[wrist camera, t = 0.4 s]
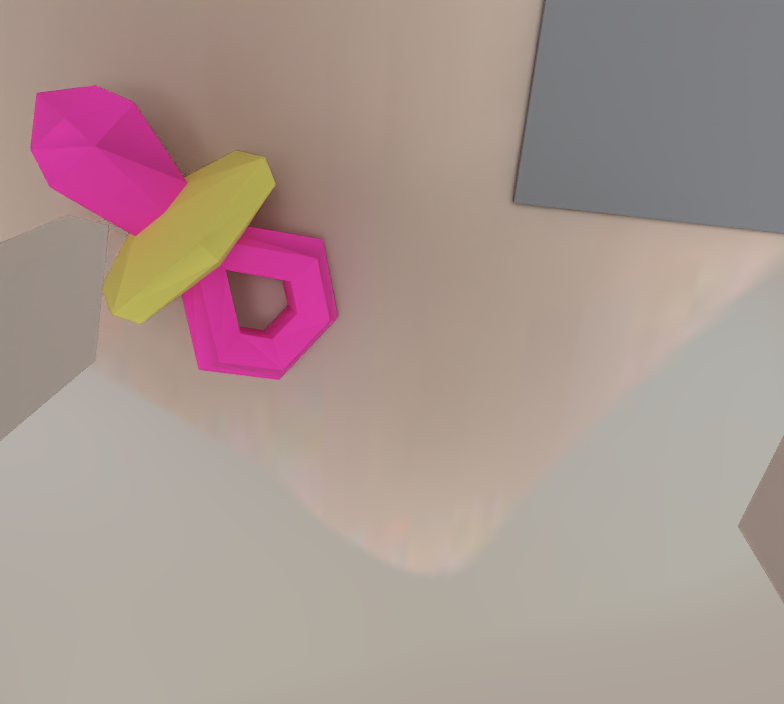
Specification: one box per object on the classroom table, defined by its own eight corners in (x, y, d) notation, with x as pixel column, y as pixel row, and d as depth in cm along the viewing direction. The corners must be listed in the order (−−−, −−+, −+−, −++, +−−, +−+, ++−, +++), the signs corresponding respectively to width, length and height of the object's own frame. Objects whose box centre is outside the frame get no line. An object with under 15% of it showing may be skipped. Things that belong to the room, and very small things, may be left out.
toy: (224, 384, 46) (272, 452, 37) (-38, 165, 37) (-59, 186, 28) (337, 265, 47) (410, 304, 38) (107, 23, 38) (132, -1, 29)
